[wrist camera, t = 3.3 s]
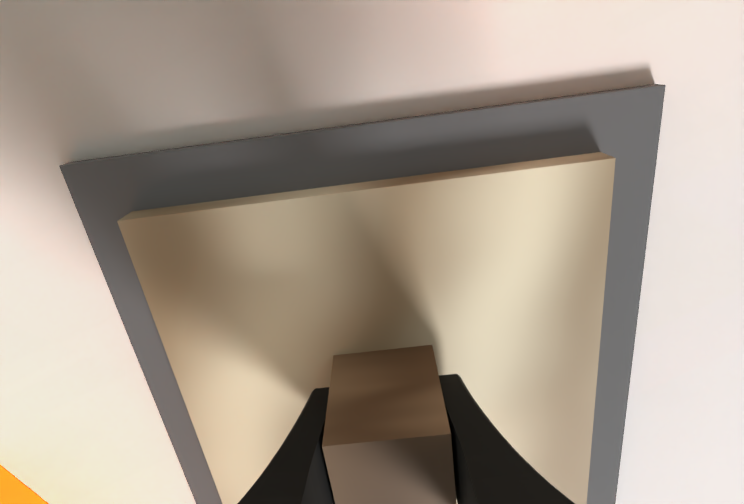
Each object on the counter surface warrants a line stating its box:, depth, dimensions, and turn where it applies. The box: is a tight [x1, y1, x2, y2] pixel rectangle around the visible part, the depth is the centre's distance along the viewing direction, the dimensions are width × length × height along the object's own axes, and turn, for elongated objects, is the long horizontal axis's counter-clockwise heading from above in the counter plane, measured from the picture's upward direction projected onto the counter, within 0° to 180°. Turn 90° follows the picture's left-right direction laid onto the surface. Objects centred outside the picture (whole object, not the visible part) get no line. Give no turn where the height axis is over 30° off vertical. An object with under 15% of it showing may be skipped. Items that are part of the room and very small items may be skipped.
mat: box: [60, 84, 665, 504], centre depth 15 cm, size 16×16×1 cm
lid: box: [117, 152, 616, 504], centre depth 13 cm, size 13×13×4 cm
